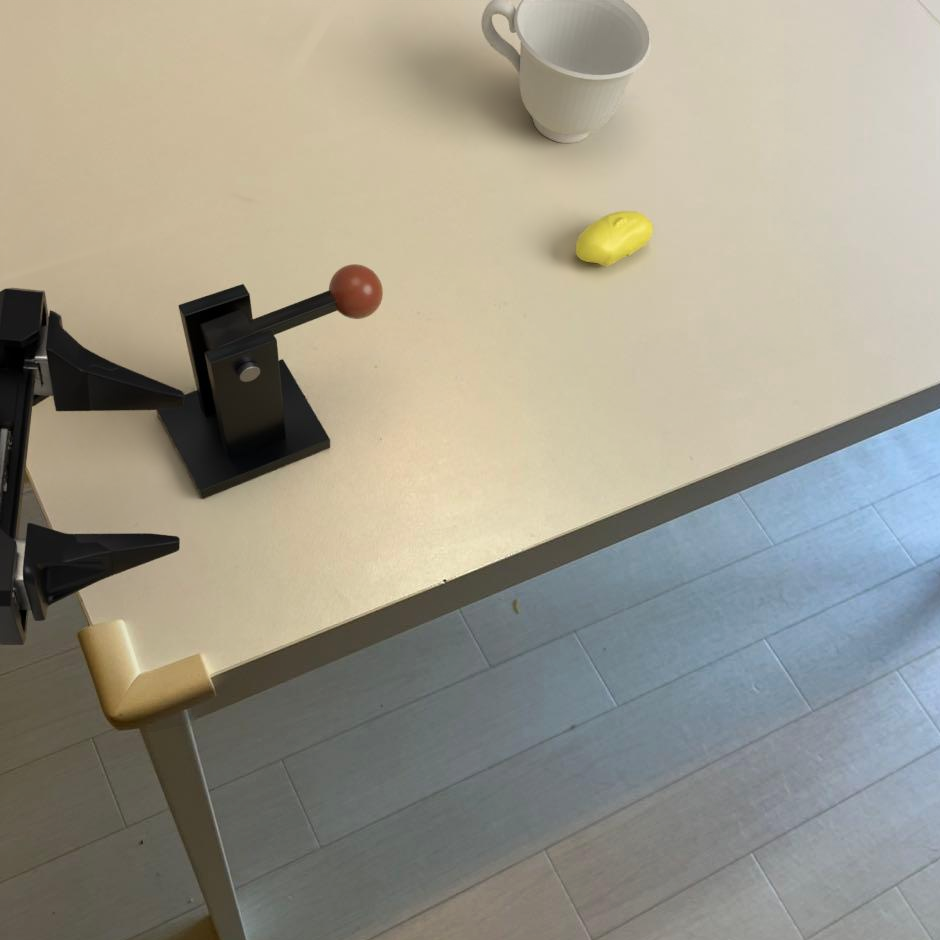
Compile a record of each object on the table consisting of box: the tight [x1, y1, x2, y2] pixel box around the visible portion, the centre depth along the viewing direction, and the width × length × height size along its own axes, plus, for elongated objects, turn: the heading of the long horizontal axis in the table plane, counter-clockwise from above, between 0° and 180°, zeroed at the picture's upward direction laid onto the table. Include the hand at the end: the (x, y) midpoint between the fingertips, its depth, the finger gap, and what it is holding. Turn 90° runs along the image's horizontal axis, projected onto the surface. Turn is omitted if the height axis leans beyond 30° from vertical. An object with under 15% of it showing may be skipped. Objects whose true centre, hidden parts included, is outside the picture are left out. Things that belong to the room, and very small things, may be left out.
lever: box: [200, 263, 384, 351], centre depth 68 cm, size 12×4×4 cm, turn 121°
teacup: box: [480, 0, 652, 144], centre depth 92 cm, size 12×15×10 cm
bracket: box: [156, 283, 331, 500], centre depth 70 cm, size 10×8×13 cm
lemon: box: [575, 210, 654, 267], centre depth 88 cm, size 4×8×4 cm, turn 120°
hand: (181, 469), depth 56 cm, fingers open, 9 cm apart
